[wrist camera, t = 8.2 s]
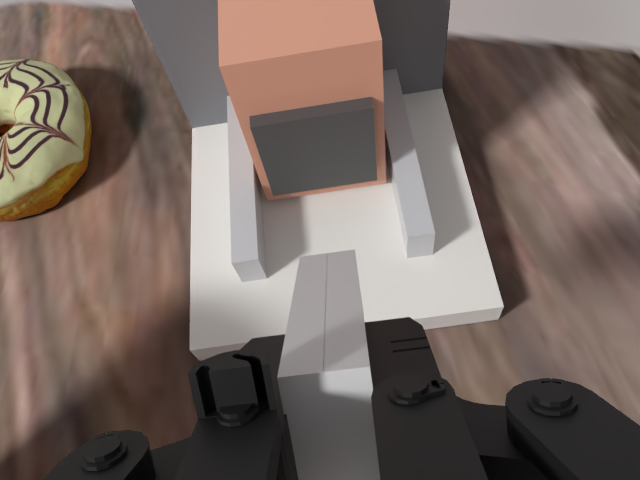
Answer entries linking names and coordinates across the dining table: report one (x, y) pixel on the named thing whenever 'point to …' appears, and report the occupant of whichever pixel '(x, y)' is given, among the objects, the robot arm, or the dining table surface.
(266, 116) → the plug block
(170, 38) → the stand
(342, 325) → the robot arm
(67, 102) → the decorated donut
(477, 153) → the dining table surface
